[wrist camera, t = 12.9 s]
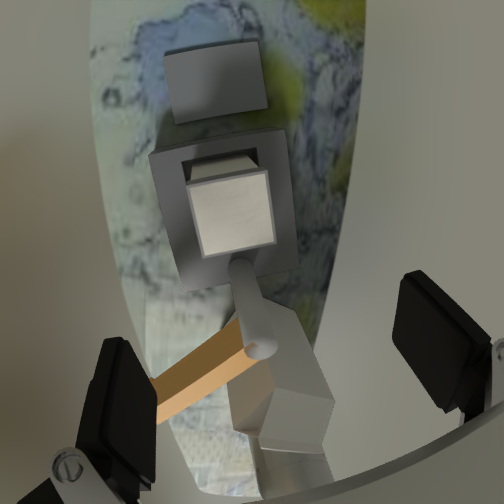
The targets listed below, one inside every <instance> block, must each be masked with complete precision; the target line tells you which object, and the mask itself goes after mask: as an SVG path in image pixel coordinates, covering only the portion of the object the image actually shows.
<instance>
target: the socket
mask: <svg viewBox="0 0 504 504" xmlns="http://www.w3.org/2000/svg"><path fill="white" fill-rule="evenodd" d="M241 153H245V154H246V155H247V156H248V157H249V158H250V159H251V160H252V161H253V162H254V163H255V164H256V165H257V166H258V167H262V166H263V167H264V168H265V169H267V172H268V179H269V186H270V194H271V201H272V209H273V217H274V224H275V232H276V240H277V244H272V245H267V246H262V247H257V248H252V249H247V250H243V251H238V252H233V253H228V254H223V255H218V256H213V257H208V258H204V259H203V258H202V254H201V249H200V245H199V241H198V237H197V233H196V229H195V224H194V220H193V216H192V211H191V207H190V202H189V198H188V193H187V189H186V182H187V181H189V180H191V172H192V165H193V163H194V162H199V161H204V160H209V159H214V158H219V157H224V156H230V155H235V154H241ZM148 158H149V162H150V166H151V171H152V175H153V179H154V183H155V187H156V192H157V196H158V200H159V204H160V207H161V211H162V215H163V219H164V223H165V227H166V230H167V234H168V238H169V241H170V245H171V248H172V252H173V255H174V259H175V262H176V266H177V269H178V272H179V276H180V279H181V282H182V286H183V289H184V292H188V291H193V290H198V289H203V288H208V287H213V286H218V285H223V284H228V283H230V278H229V273H228V267H229V265H230V263H231V262H232V261H234V260H235V259H239V258H243V259H247V260H248V261H250V263H251V264H252V267H253V270H254V273H255V276H256V278H257V277H262V276H266V275H271V274H276V273H280V272H285V271H289V270H294V269H298V268H300V266H299V254H298V243H297V232H296V222H295V212H294V202H293V193H292V184H291V175H290V166H289V158H288V150H287V142H286V134H285V129H281V128H277V127H270V128H263V129H256V130H250V131H244V132H238V133H232V134H226V135H220V136H215V137H210V138H205V139H200V140H195V141H190V142H186V143H181V144H176V145H172V146H168V147H164V148H159V149H155V150H154V151H152V152H151V153H150V154H149V155H148Z"/></svg>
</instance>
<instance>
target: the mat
mask: <svg viewBox="0 0 504 504" xmlns="http://www.w3.org/2000/svg"><path fill="white" fill-rule="evenodd" d="M163 61H164V67H165V73H166V79H167V84H168V90H169V96H170V101H171V107H172V112H173V118H174V123H175V125H176V124H180V123H185V122H189V121H194V120H199V119H204V118H210V117H215V116H220V115H226V114H232V113H238V112H245V111H252V110H259V109H266V108H268V104H267V97H266V91H265V84H264V78H263V71H262V65H261V59H260V53H259V47H258V41H256V42H246V43H237V44H229V45H222V46H215V47H209V48H203V49H198V50H192V51H187V52H182V53H177V54H173V55H168V56H164V57H163Z"/></svg>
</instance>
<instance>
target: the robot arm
mask: <svg viewBox="0 0 504 504" xmlns="http://www.w3.org/2000/svg"><path fill="white" fill-rule="evenodd" d="M392 340H393V343H394V345H395V346H396V348H397V349H398V350H399V352H400V353H401V355H402V356H403V357H404V359H405V360H406V362H407V363H408V365H409V366H410V367H411V369H412V370H413V372H414V373H415V375H416V376H417V378H418V379H419V380H420V382H421V383H422V385H423V386H424V388H425V389H426V391H427V392H428V394H429V395H430V397H431V398H432V400H433V401H434V403H435V404H436V406H437V407H438V408H442V409H443V411H444V412H445V414H446V413H448V412H450V411H452V410H454V409H455V408H457V407H459V409H460V410H461V415H460V422H459V427H458V428H456V429H455V430H453V431H451V432H449V433H447V434H446V435H444V436H442V437H440V438H438V439H436V440H434V441H433V442H431V443H429V444H427V445H425V446H423V447H421V448H419V449H417V450H415V451H412V452H410V453H408V454H406V455H404V456H402V457H399V458H397V459H395V460H392V461H390V462H388V463H385V464H383V465H380V466H378V467H375V468H373V469H370V470H368V471H365V472H362V473H360V474H357V475H354V476H351V477H348V478H346V479H343V480H339V481H336V482H335V481H334V478H333V475H332V473H331V470H330V467H329V465H328V462H327V459H326V456H325V453H324V454H312V453H297V452H279V451H272V450H267V449H261V448H260V445H259V440H258V438H256V437H253V436H250V435H248V439H249V444H250V449H251V454H252V459H253V464H254V469H255V474H256V479H257V484H258V489H259V492H260V494H261V497H262V498H263V499H264V500H260V501H255V502H249V503H243V504H504V338H502V339H498V340H497V341H496V342H495V343H494V344H493V345H492V344H491V343H490V341H491V337H490V336H489V335H488V334H487V333H486V332H485V331H484V330H483V329H482V328H481V327H480V326H479V325H478V324H477V323H476V322H475V321H474V320H473V319H472V318H471V317H470V316H469V315H468V314H467V313H466V312H465V311H464V310H463V309H462V308H461V307H460V306H459V305H458V304H457V303H456V302H455V301H454V300H453V299H451V297H449V295H448V294H446V293H445V292H444V291H443V290H442V289H441V288H440V287H439V286H438V285H437V284H436V283H434V281H432V280H431V279H430V278H429V277H428V276H427V275H426V274H425V273H424V272H422V271H421V270H416V271H413V272H410V273H406V274H405V275H404V278H403V279H402V280H401V282H400V288H399V295H398V303H397V309H396V315H395V321H394V327H393V332H392ZM157 401H158V398H157V393H156V391H155V389H154V387H153V385H152V383H151V382H150V380H149V378H148V376H147V375H146V373H145V371H144V369H143V368H142V366H141V364H140V362H139V360H138V358H137V356H136V354H135V352H134V351H133V348H132V347H131V345H130V343H129V341H128V340H124V339H123V338H122V337H113V338H107V339H104V341H103V344H102V348H101V351H100V355H99V358H98V362H97V366H96V370H95V373H94V377H93V379H92V380H91V381H90V384H89V387H88V391H87V395H86V400H85V403H84V407H83V412H82V417H81V421H80V425H79V430H78V435H77V441H76V445H75V448H74V447H66V448H63V449H60V450H58V451H57V452H56V453H55V454H54V455H53V456H52V458H51V460H50V462H49V466H48V473H49V476H50V477H49V478H48V479H47V480H45V481H44V482H43V483H42V484H40V485H39V486H38V487H37V488H35V489H34V490H33V491H31V492H30V493H29V494H27V495H26V496H25V497H24V498H22V499H21V500H20V501H19V502H18V503H17V504H142V503H141V502H140V501H139V498H140V491H151V483H154V482H155V467H156V465H155V464H156V461H155V460H156V423H157Z"/></svg>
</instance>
